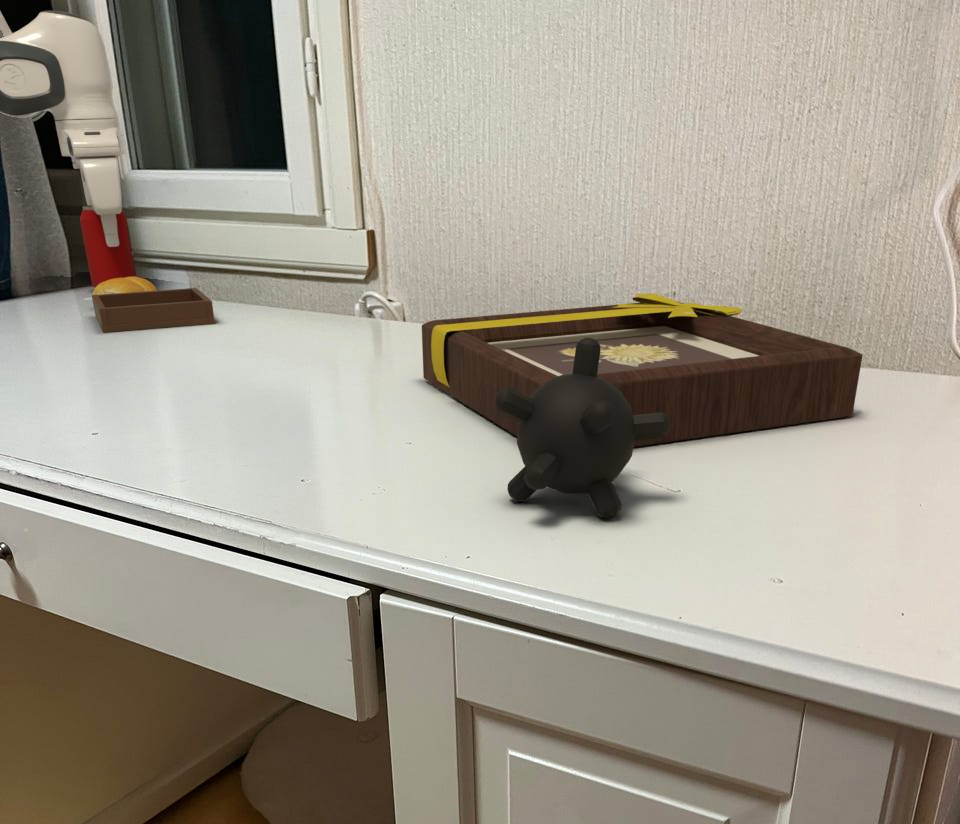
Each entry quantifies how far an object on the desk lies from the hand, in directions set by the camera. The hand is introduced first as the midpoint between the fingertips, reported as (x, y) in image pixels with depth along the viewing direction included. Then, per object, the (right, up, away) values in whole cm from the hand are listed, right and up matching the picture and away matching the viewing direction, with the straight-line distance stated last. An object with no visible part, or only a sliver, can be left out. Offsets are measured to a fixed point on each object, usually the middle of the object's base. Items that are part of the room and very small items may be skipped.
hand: (110, 243), depth 151 cm
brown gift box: (+70, -39, -61) cm, 101 cm away
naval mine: (+63, -52, -86) cm, 119 cm away
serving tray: (+14, -19, -22) cm, 32 cm away
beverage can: (0, -6, +3) cm, 7 cm away
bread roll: (+7, -14, -12) cm, 19 cm away
